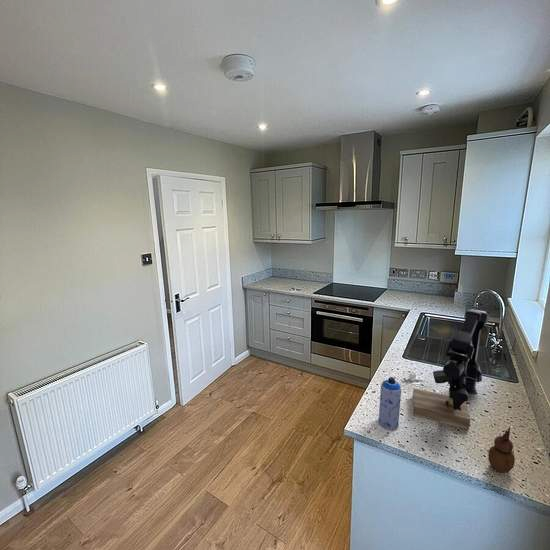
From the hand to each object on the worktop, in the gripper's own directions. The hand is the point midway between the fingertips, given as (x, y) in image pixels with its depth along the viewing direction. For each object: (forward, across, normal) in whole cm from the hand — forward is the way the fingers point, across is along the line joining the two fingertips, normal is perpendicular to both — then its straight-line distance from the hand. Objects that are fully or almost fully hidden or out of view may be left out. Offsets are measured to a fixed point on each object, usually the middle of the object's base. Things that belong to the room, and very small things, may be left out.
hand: (453, 402), depth 122 cm
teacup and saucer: (+6, -21, -13) cm, 25 cm away
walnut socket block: (+6, 0, -5) cm, 8 cm away
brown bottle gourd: (+6, +24, +11) cm, 27 cm away
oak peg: (+5, 0, 0) cm, 5 cm away
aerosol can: (+6, +16, -24) cm, 29 cm away
